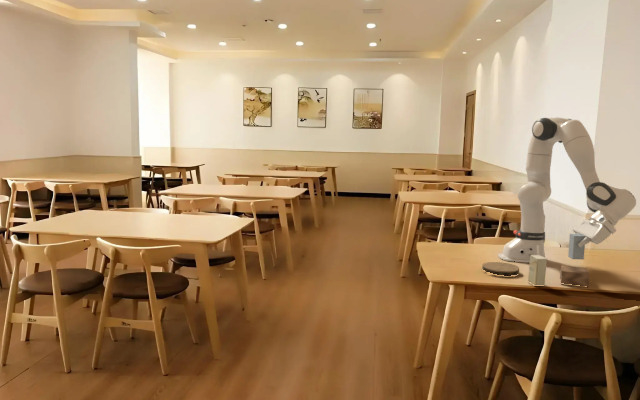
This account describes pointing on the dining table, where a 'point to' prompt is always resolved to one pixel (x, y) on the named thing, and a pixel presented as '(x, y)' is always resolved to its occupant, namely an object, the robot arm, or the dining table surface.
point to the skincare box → (537, 270)
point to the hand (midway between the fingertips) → (575, 244)
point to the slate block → (576, 247)
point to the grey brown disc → (501, 268)
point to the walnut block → (574, 275)
